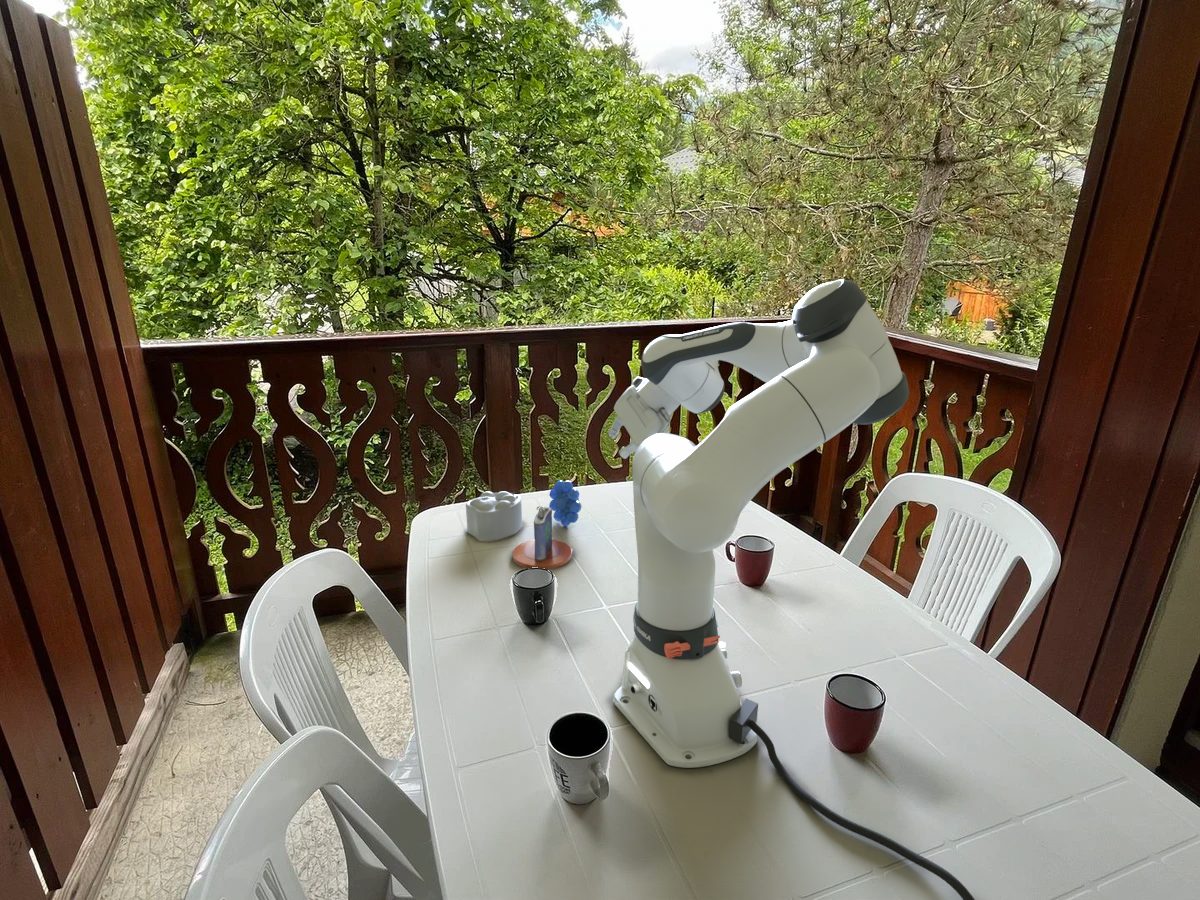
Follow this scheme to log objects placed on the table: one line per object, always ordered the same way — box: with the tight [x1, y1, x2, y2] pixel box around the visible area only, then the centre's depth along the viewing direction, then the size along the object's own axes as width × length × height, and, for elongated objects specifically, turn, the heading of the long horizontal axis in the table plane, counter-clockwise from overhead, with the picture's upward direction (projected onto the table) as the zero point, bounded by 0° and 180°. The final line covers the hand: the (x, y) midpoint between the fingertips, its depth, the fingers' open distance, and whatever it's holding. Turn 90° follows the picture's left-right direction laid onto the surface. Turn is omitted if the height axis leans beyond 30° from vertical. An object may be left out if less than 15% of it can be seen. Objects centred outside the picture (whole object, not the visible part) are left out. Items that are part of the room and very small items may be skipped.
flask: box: [533, 506, 553, 562], centre depth 138 cm, size 9×3×11 cm, turn 172°
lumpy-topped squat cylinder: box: [465, 490, 523, 543], centre depth 152 cm, size 10×13×9 cm
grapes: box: [548, 480, 582, 527], centre depth 154 cm, size 12×7×12 cm, turn 40°
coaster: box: [512, 538, 573, 570], centre depth 140 cm, size 13×13×1 cm
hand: (615, 445), depth 141 cm, fingers open, 8 cm apart
